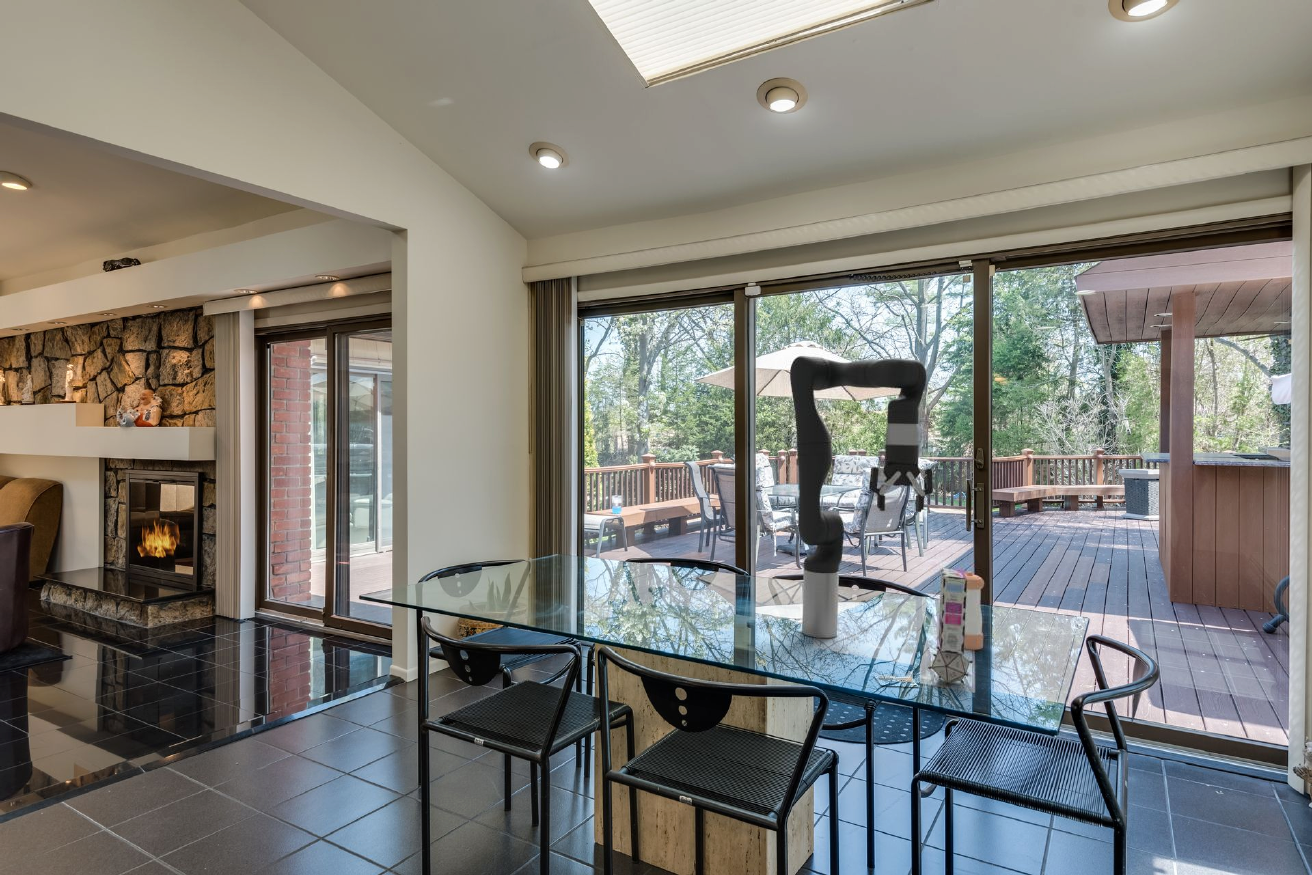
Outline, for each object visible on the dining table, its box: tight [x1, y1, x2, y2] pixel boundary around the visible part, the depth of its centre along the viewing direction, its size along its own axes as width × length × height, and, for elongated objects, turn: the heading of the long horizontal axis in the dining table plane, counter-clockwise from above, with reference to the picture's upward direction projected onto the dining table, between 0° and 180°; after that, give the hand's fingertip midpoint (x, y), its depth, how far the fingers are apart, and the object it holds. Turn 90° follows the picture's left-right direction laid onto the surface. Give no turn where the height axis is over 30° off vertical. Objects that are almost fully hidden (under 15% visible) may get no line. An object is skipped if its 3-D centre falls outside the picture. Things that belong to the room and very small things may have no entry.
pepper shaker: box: [964, 571, 985, 651], centre depth 187 cm, size 7×7×19 cm
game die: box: [927, 646, 974, 687], centre depth 159 cm, size 9×8×10 cm
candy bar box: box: [938, 568, 967, 655], centre depth 159 cm, size 11×5×16 cm, turn 161°
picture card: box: [873, 674, 920, 688], centre depth 158 cm, size 6×8×1 cm
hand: (900, 511), depth 172 cm, fingers open, 8 cm apart
